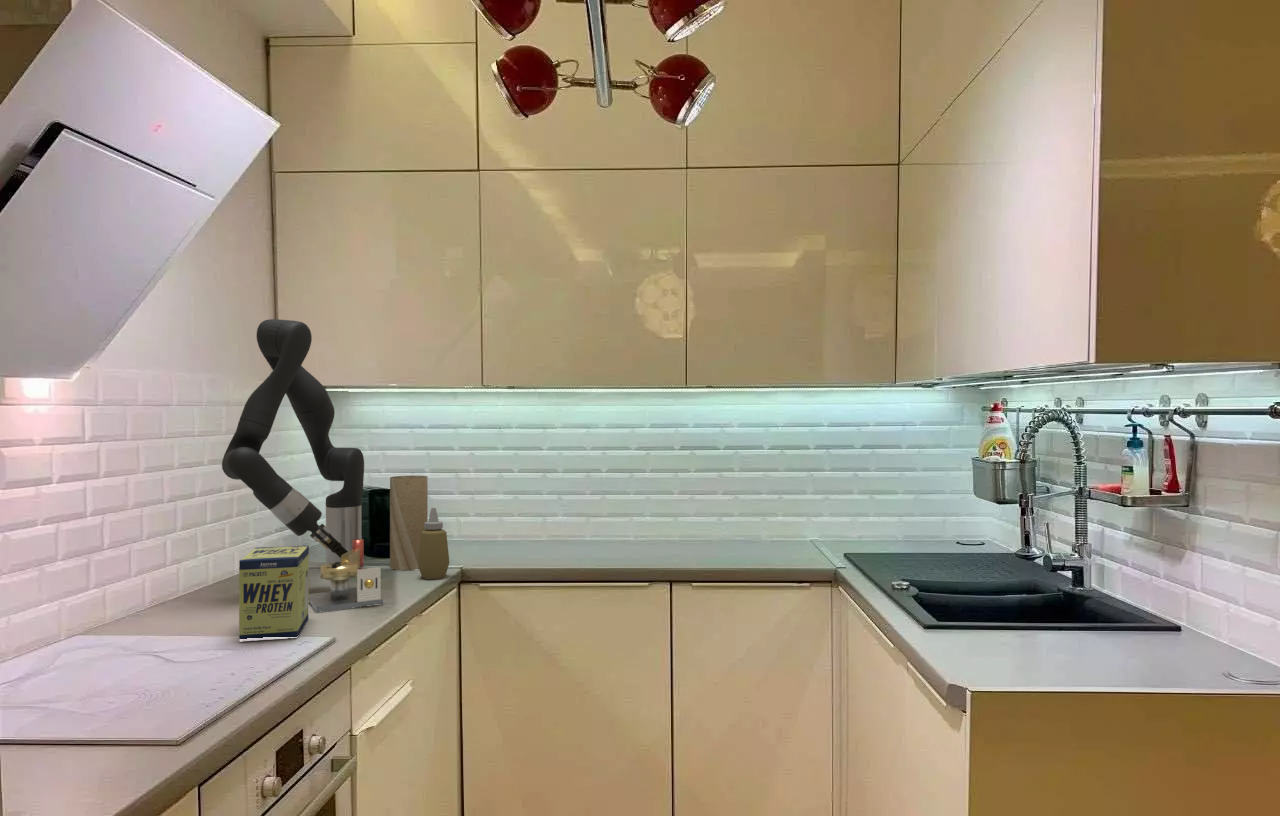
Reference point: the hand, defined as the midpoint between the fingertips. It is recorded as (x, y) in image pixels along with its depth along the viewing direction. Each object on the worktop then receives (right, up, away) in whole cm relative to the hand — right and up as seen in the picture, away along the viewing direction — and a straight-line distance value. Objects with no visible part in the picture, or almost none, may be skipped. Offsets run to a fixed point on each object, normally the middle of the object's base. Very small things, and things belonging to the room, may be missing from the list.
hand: (349, 559), depth 193 cm
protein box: (-2, -8, -36) cm, 37 cm away
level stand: (+4, -7, -13) cm, 15 cm away
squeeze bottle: (+17, -8, +14) cm, 23 cm away
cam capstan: (+2, -2, -8) cm, 9 cm away
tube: (+7, -8, +27) cm, 29 cm away
